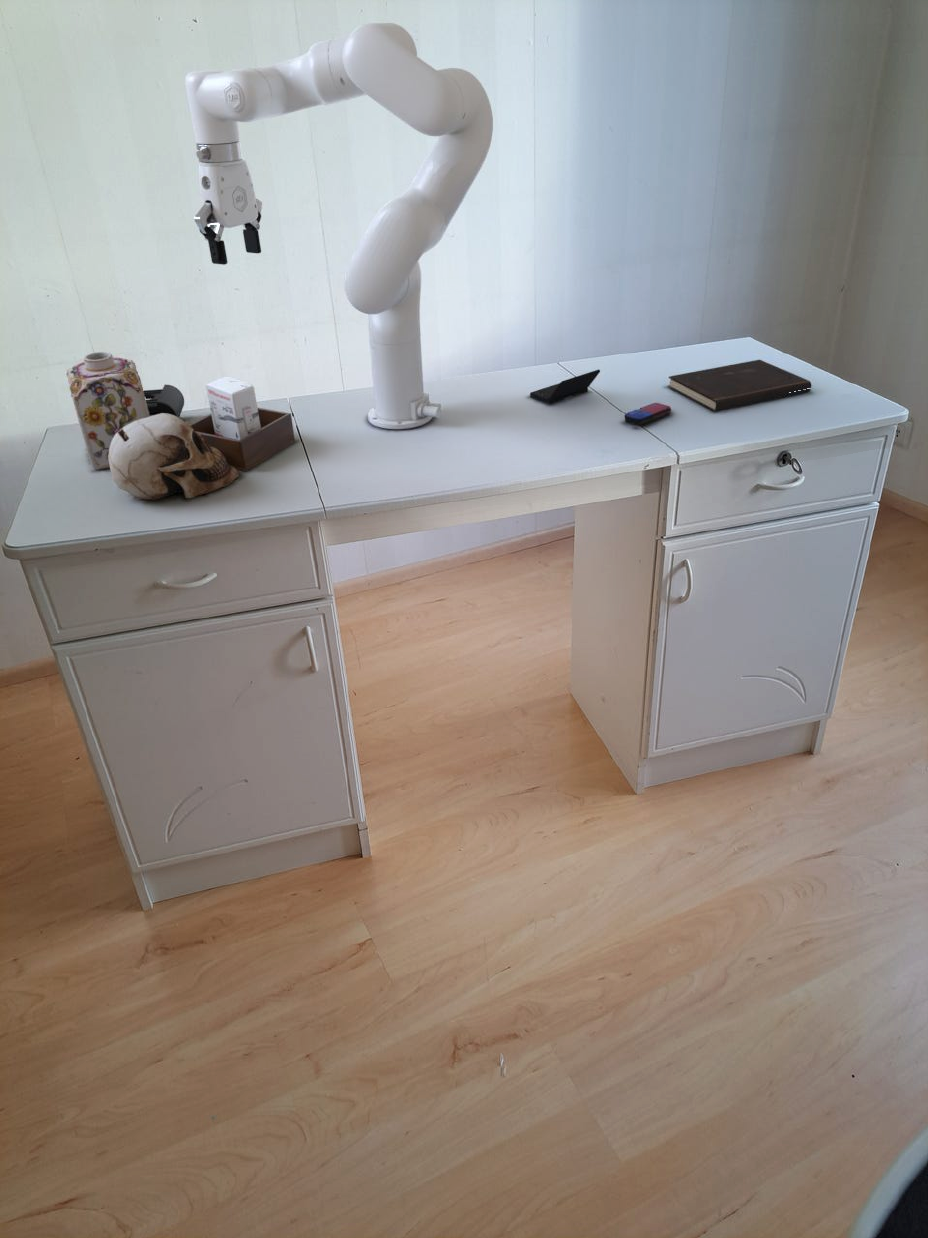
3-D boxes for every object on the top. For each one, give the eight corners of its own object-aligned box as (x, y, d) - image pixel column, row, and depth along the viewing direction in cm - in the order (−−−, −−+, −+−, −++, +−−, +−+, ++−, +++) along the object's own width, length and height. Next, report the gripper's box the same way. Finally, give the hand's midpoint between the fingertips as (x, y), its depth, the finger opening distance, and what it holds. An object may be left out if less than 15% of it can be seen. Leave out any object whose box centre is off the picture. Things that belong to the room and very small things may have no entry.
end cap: (181, 435, 164) (173, 400, 161) (142, 438, 164) (134, 403, 160) (188, 416, 173) (180, 382, 169) (151, 418, 172) (143, 385, 168)
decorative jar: (88, 447, 161) (60, 350, 150) (152, 436, 164) (129, 341, 154) (92, 472, 152) (62, 370, 141) (161, 459, 155) (136, 360, 145)
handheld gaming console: (559, 374, 181) (581, 344, 173) (581, 400, 181) (605, 370, 172) (524, 397, 176) (546, 367, 167) (548, 423, 175) (571, 394, 167)
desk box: (295, 441, 160) (291, 413, 157) (246, 471, 150) (240, 441, 147) (236, 430, 166) (231, 402, 163) (185, 458, 155) (179, 429, 152)
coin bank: (247, 471, 149) (225, 399, 141) (183, 525, 138) (155, 450, 129) (177, 461, 155) (152, 391, 147) (110, 511, 144) (79, 439, 135)
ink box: (215, 445, 159) (202, 382, 152) (238, 437, 161) (226, 375, 155) (243, 457, 154) (231, 393, 147) (266, 449, 157) (255, 385, 150)
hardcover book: (667, 387, 178) (668, 376, 177) (757, 369, 186) (759, 359, 184) (715, 412, 166) (716, 401, 165) (810, 393, 173) (812, 381, 172)
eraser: (657, 408, 169) (658, 399, 168) (674, 413, 166) (675, 404, 165) (620, 423, 163) (621, 413, 162) (637, 428, 160) (638, 419, 159)
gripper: (203, 161, 143) (222, 269, 153) (267, 148, 156) (281, 249, 165) (168, 159, 146) (189, 266, 156) (235, 147, 159) (250, 247, 168)
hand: (237, 257), depth 161 cm, fingers open, 9 cm apart
